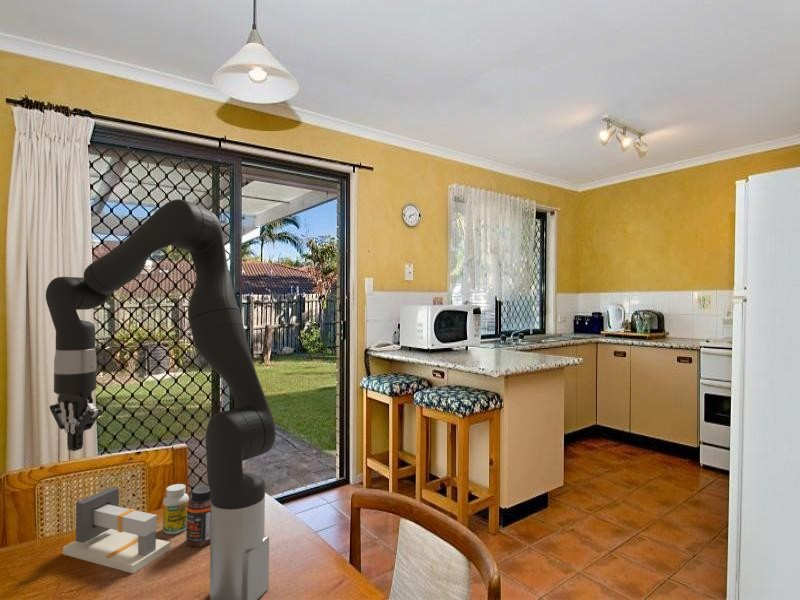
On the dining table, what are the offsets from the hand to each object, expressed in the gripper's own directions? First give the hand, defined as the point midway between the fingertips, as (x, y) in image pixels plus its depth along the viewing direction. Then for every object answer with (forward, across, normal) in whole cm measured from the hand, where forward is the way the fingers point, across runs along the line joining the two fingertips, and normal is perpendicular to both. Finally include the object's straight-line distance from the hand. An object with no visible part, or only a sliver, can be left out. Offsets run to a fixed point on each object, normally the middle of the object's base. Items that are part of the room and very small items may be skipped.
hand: (75, 449), depth 100 cm
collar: (+17, -7, 0) cm, 18 cm away
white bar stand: (+20, -13, 0) cm, 23 cm away
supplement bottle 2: (+20, -26, -9) cm, 34 cm away
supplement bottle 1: (+20, -17, -11) cm, 28 cm away
